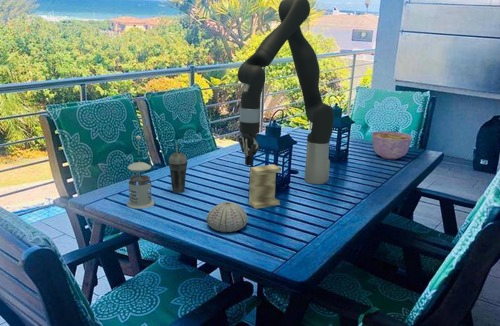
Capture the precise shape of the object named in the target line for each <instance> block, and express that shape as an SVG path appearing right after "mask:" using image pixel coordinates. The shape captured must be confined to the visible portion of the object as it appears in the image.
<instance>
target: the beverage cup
mask: <svg viewBox="0 0 500 326" xmlns="http://www.w3.org/2000/svg"><path fill="white" fill-rule="evenodd" d="M175 151H176V152H173V153H172V154H171V155H170V157H169V158H168V167H169V171H170V181H171V188H172V189H171V190H172V193H174V194H183V193H184V192H185V188H186V187H185V186H186V178H187V177H186V176H187V175H186V174H187V167H188V164H189V163H188V158H187V156H186V155H185V154H184V153H183V152H180V151H178V141H175Z"/></svg>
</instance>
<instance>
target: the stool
mask: <svg viewBox="0 0 500 326" xmlns="http://www.w3.org/2000/svg"><path fill="white" fill-rule="evenodd" d="M278 173H282V167H280V166H278V165H276V164H268V165H267V164H266V165H259V166H252V167H251V166H250V167H249V193H248V194H249V195H248V196H249V197H248V205H249V206H251V207H252V208H254V209H255V210H257V209H262V208H263V209H264V208H269V207H274V206H275V207H276V206H280V205H281V203H280V200H279V199H278V198H276V197H275V196H276V179H277V177H276V175H277V174H278Z"/></svg>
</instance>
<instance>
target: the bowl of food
mask: <svg viewBox="0 0 500 326" xmlns="http://www.w3.org/2000/svg"><path fill="white" fill-rule="evenodd" d="M371 139H372V140H371V141H372V145H373V146H372V147H373V151H374V152H375V153H376V154H377V155H378V156H379V157H381V158H382V159H385V160H398V159H399V158H402V157H404V156H405V155H407V153H408V151H409V148H410V145H411V144H412V140H413V136H412V135H411V134H408V133H404V132H399V131H390V130H382V131H381V130H380V131H373V132H372V133H371Z"/></svg>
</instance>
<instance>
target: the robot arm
mask: <svg viewBox="0 0 500 326" xmlns="http://www.w3.org/2000/svg"><path fill="white" fill-rule="evenodd" d="M310 13H311V4H310V2H309V0H281V2H280V3H279V5H278V17H279V20H280V23H279V25H278V26H277V27H276V28H275V29H273V30H272V31H271V32H270V33H269V34H267V36H266V37H264V39H263V40H262V42H261V43H260V44H259V46H258V47H257V49H256V50H255V52H254V53H253V54H252V55H250V56H249V57H248V58H247V59H246V60H245V61H244V62H242V64H240V67H239V68H238V70H237V74H236V75H237V79H238V81H239V82H240V83H241V84H244V85H248V89H247V90H245V91H243V92H241V95H240V111H239V128H238V129H239V130H238V131H239V133H240V134H241V137H238V142H239V146H240V150H241V153H243V155H244V165H245V166H252V165H253V156H255V155H257V153H258V151H259V149H260V147H261V144H260V143H258V142H257V141H258V139H257V138H258V137H257V135H258V134H259V133H260V126H261V111H260V108H261V107H260V106H261V96H262V93H263V89H264V86H265V82H266V71H265V70H264V68H265V67H268V66H270V65H271V63H272V62H273V61H274V60H275V57H277V55H278V53H279V52H280V50H281V49H282V47H283V46H284V45H285V44H286V42H287V41H288V42H287V43H288V45H289V49H290V52H291V56H292V61H293V65H294V66H293V67H294V69H295V73H296V76H297V79H298V82H299V86H300V90H301V94H302V99H303V105H304V111H305V112H304V113H305V116H306V119H307V121H309V122H310V123H311V124H312V125H311V131H310V132H309V133H308V134H307V138H306V150H305V151H306V152H305V155H306V156H305V171H304V182H306V183H308V184H310V185H311V184H312V185H322V184H326V183H327V182H329V180H330V177H329V175H330V166H331V165H330V164H331V160H330V159H329V156H330V155H329V151H330V141H331V137H332V134H333V131H334V130H333V128H334V119H335V115H334V114H335V112H334V109H333V108H332V106H330V105H329V104H327V103H324V102H323V99H322V95H321V92H320V86H319V85H320V76H321V71H320V69H321V68H320V65H319V61H318V60H319V59H318V56H317V53H316V51H315V50H314V48H313V47H312V45H311V44H310V43H309V41H308V40H307V39H306V37H305V35H303V32H302V29H301V25H302V24H303V23H304V22H305V21H306V20H307V19H308V17H309V16H310Z"/></svg>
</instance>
